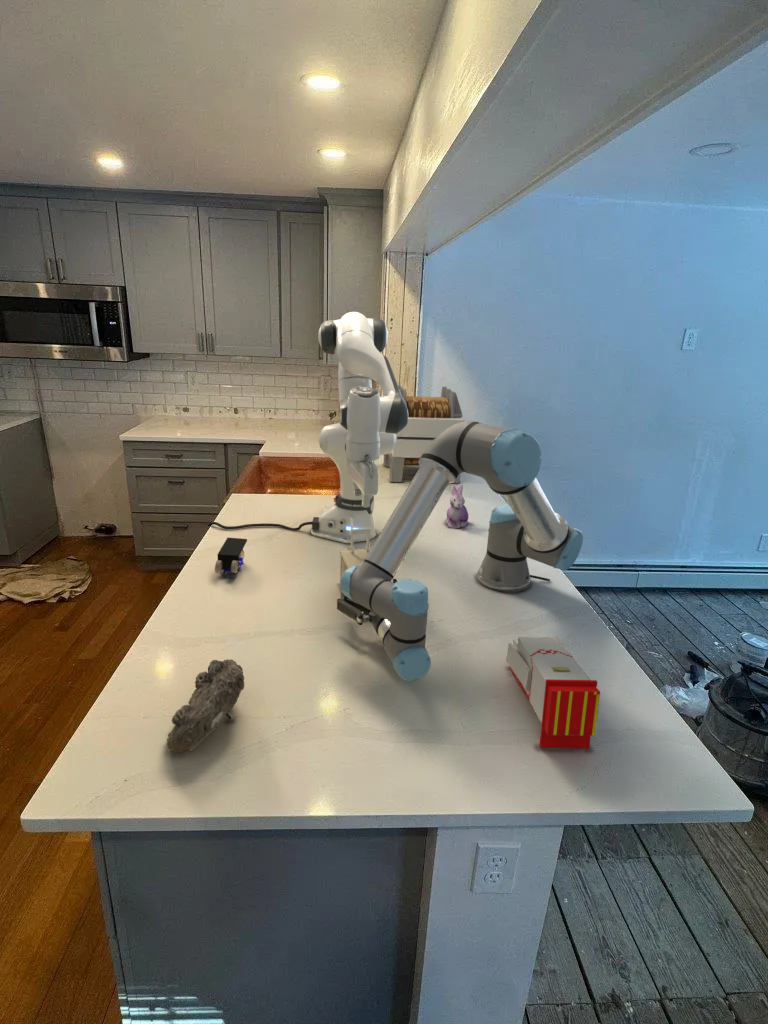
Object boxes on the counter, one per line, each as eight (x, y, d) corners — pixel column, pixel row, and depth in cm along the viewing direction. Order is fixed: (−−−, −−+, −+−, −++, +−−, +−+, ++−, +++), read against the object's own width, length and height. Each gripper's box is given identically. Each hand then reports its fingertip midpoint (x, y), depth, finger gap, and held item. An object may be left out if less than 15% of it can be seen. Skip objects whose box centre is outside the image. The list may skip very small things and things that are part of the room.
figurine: (453, 530, 205) (457, 490, 200) (438, 521, 213) (441, 482, 208) (475, 527, 209) (479, 488, 204) (459, 517, 217) (462, 480, 212)
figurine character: (238, 584, 162) (249, 557, 175) (236, 562, 158) (247, 536, 172) (215, 584, 161) (227, 556, 175) (212, 561, 158) (225, 535, 171)
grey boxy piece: (382, 463, 289) (386, 382, 275) (445, 464, 293) (451, 384, 279) (390, 482, 257) (394, 392, 243) (460, 483, 261) (468, 394, 247)
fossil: (192, 660, 117) (244, 628, 112) (224, 691, 120) (276, 661, 115) (142, 746, 98) (202, 712, 93) (182, 779, 101) (242, 748, 96)
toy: (554, 620, 129) (609, 687, 99) (549, 674, 131) (601, 755, 102) (501, 619, 128) (541, 686, 99) (497, 673, 131) (534, 754, 102)
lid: (340, 553, 159) (340, 526, 156) (375, 551, 162) (376, 524, 159) (351, 575, 146) (351, 546, 144) (388, 572, 149) (390, 544, 146)
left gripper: (385, 460, 140) (382, 513, 144) (365, 441, 158) (363, 489, 163) (360, 461, 138) (358, 514, 143) (343, 442, 156) (342, 490, 161)
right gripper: (338, 649, 126) (321, 603, 145) (443, 636, 133) (413, 594, 152) (339, 620, 123) (321, 577, 142) (445, 608, 130) (415, 568, 149)
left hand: (361, 500), depth 153 cm, fingers open, 8 cm apart
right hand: (369, 585), depth 147 cm, fingers open, 13 cm apart
